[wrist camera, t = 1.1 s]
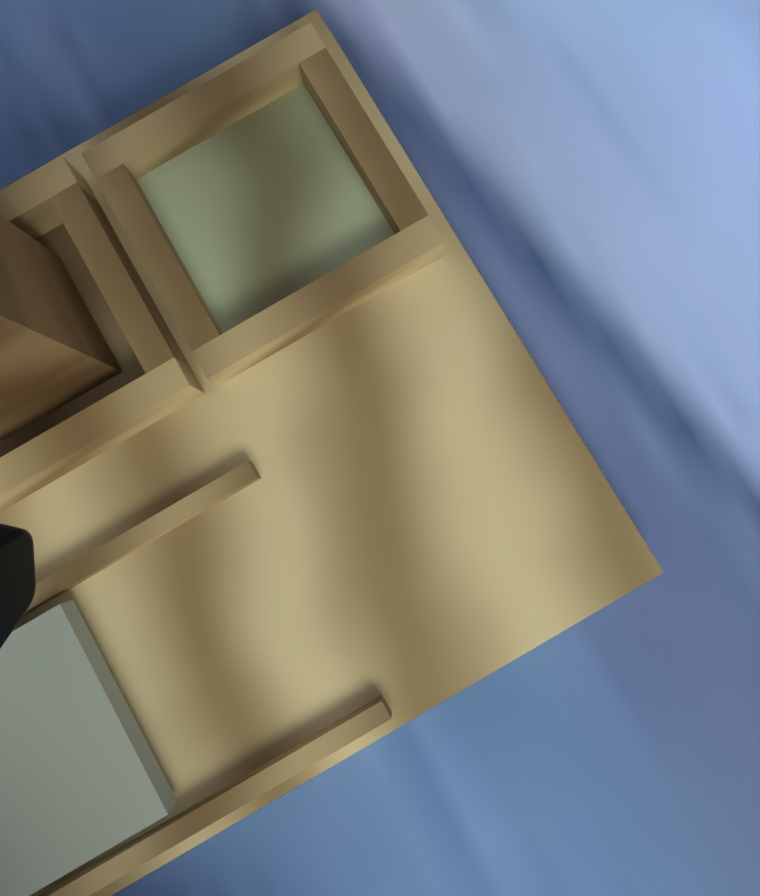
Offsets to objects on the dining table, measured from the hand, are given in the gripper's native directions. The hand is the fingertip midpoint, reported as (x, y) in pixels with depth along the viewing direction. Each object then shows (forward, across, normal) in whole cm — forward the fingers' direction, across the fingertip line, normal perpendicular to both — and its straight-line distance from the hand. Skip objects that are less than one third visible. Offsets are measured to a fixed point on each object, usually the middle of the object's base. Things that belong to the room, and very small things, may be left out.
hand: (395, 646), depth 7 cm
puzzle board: (+13, +9, +6) cm, 17 cm away
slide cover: (+7, +10, +13) cm, 18 cm away
